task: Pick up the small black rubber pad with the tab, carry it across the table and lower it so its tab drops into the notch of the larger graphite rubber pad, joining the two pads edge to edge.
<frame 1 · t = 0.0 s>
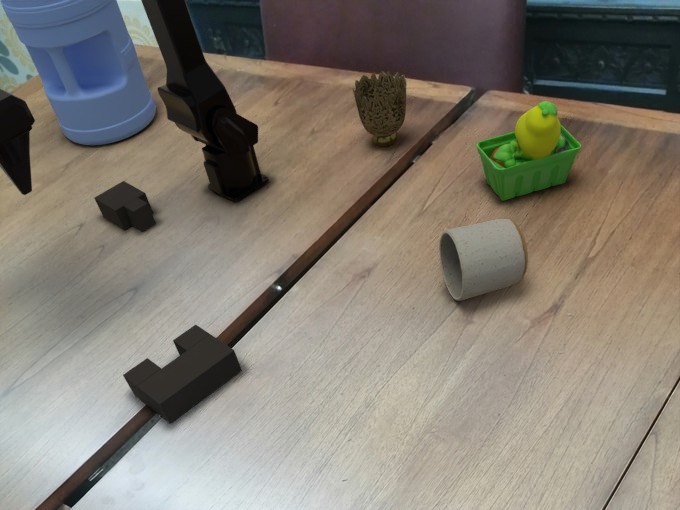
hand: (7, 180, 77), 15 cm above the table, tool pointing down, fingers open, 9 cm apart
water jug: (112, 124, 114), on the table
fruit basket: (527, 186, 91), on the table
cup: (385, 143, 101), on the table
black pad: (128, 215, 97), on the table
ceramic mug: (476, 281, 81), on the table
base pad: (188, 382, 76), on the table
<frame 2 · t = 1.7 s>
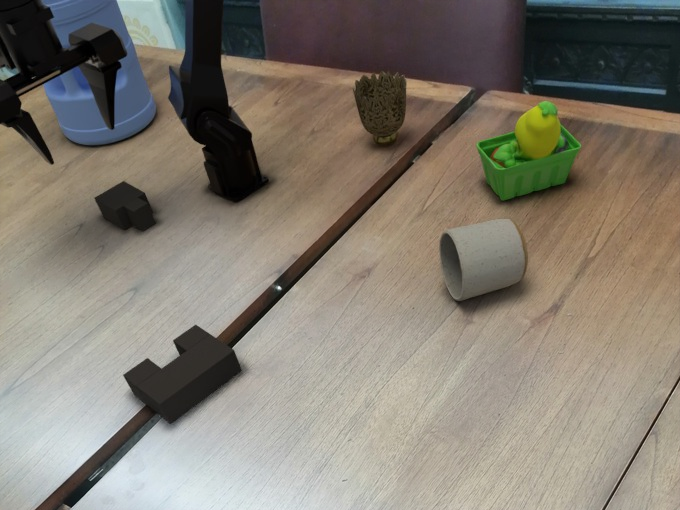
hand: (81, 145, 87), 11 cm above the table, tool pointing down, fingers open, 9 cm apart
nothing on the table moved.
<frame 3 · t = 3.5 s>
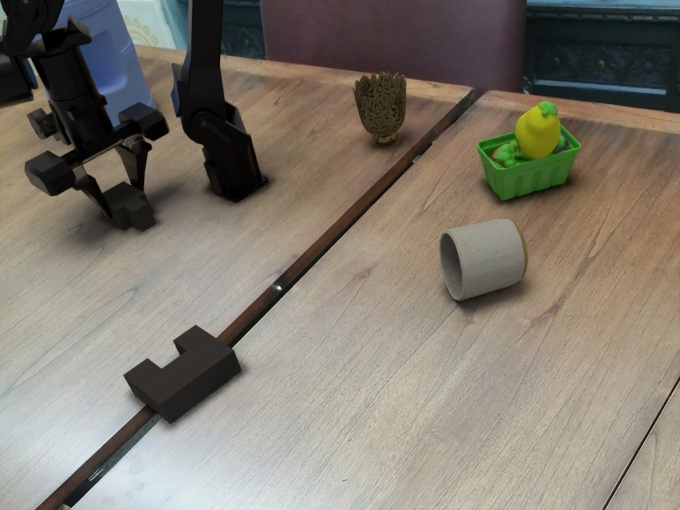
hand: (125, 208, 97), 1 cm above the table, tool pointing down, fingers closed on black pad, 5 cm apart
black pad: (128, 215, 97), on the table, touching gripper
everything else where it was.
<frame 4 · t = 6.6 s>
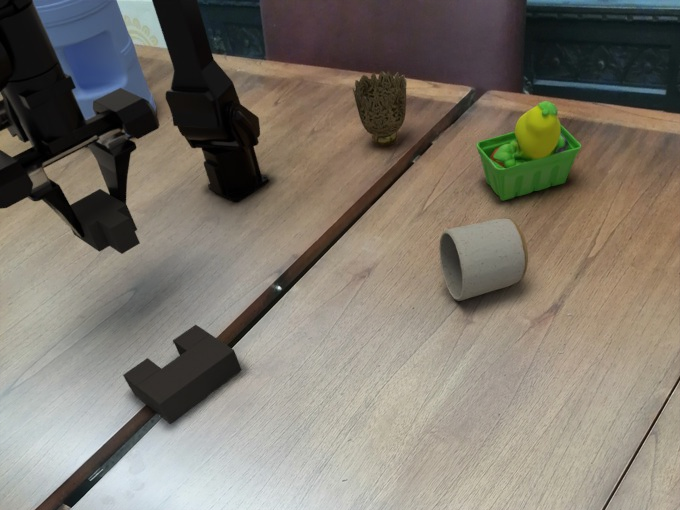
hand: (102, 224, 76), 11 cm above the table, tool pointing down, fingers closed on black pad, 5 cm apart
black pad: (105, 232, 76), point 10 cm above the table, touching gripper
everything else where it was.
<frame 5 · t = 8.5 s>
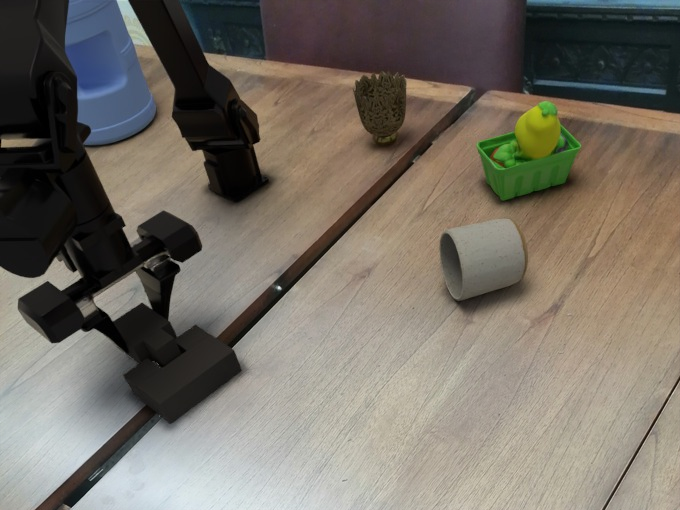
hand: (145, 338, 77), 3 cm above the table, tool pointing down, fingers closed on black pad, 5 cm apart
black pad: (148, 345, 78), point 2 cm above the table, touching gripper
everything else where it was.
when the fingers open (1 cm above the table, at t = 9.6 s): black pad stays where it is, on the table.
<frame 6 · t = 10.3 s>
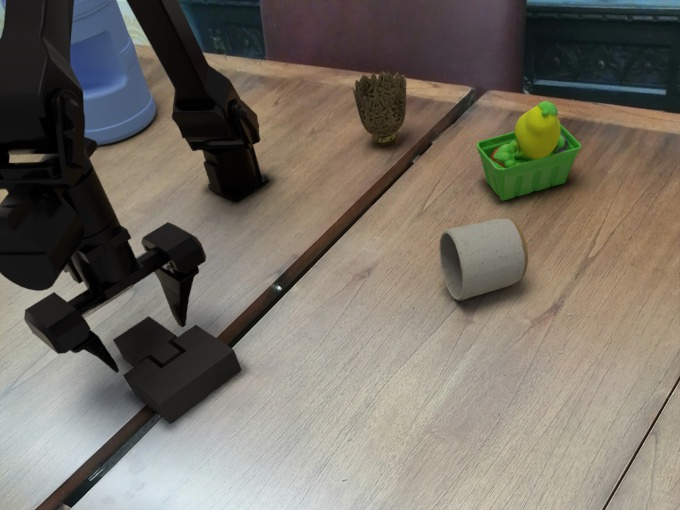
hand: (149, 347, 78), 2 cm above the table, tool pointing down, fingers open, 9 cm apart
black pad: (154, 357, 79), on the table
everything else where it was.
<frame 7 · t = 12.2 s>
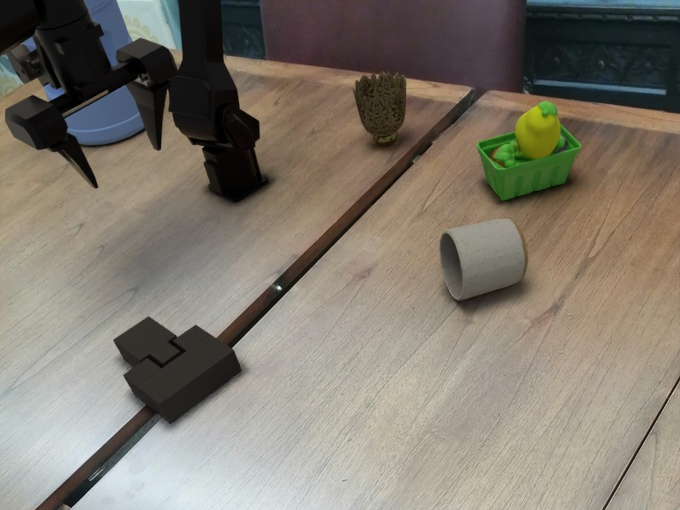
hand: (127, 168, 82), 12 cm above the table, tool pointing down, fingers open, 9 cm apart
nothing on the table moved.
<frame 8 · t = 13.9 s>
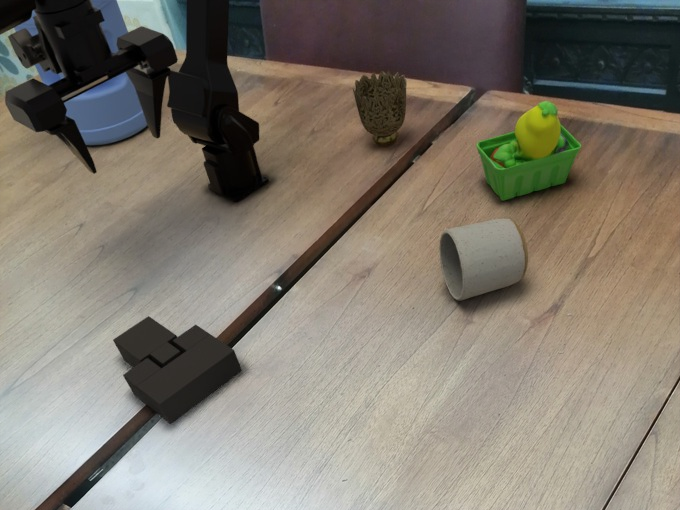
hand: (125, 154, 83), 12 cm above the table, tool pointing down, fingers open, 9 cm apart
nothing on the table moved.
at the end: black pad 0.2 cm from the target spot on the table beside the base pad, on the table; black pad tilted 0°; the gripper is holding nothing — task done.
